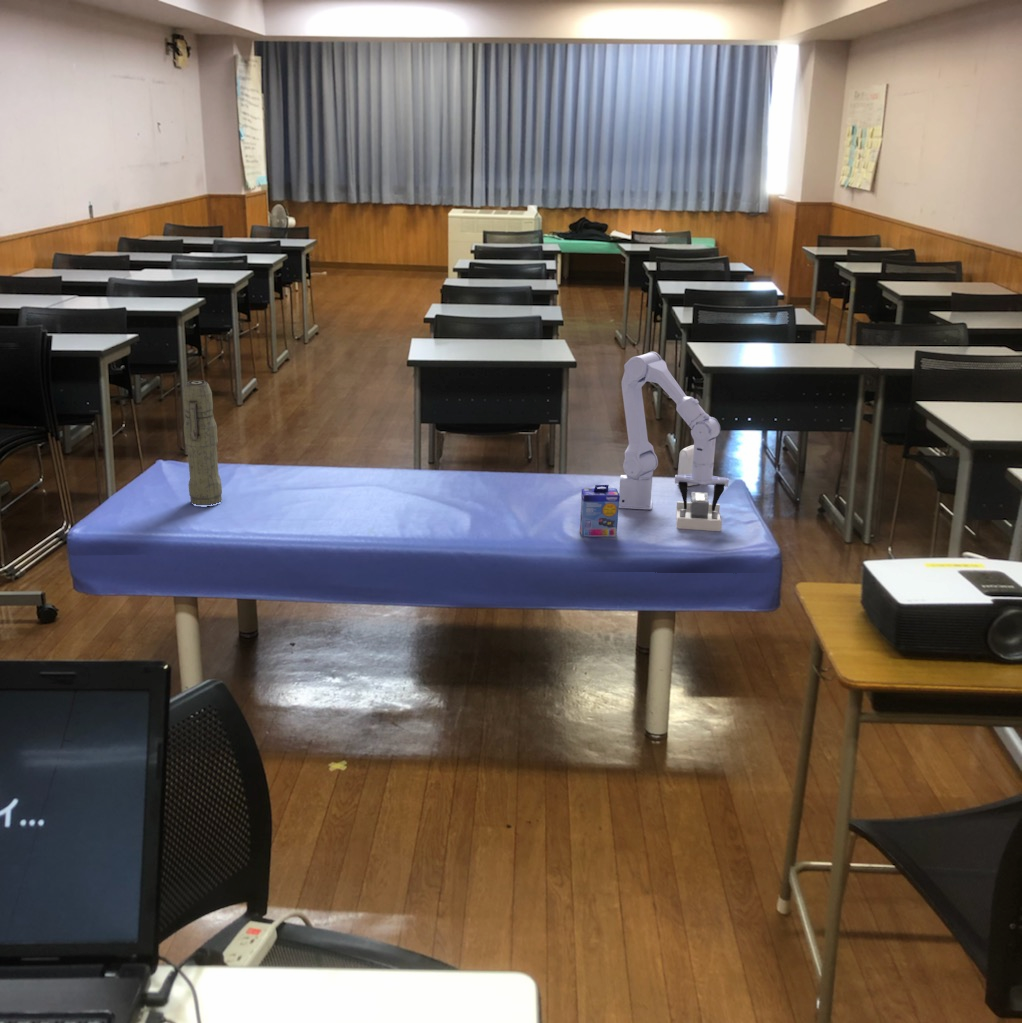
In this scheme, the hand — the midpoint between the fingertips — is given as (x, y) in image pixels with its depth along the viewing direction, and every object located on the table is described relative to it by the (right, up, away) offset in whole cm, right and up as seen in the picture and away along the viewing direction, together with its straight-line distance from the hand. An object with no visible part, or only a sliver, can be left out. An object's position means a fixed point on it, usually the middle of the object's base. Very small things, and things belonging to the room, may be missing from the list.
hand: (699, 508), depth 300 cm
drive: (0, -2, +1) cm, 3 cm away
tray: (0, -3, +1) cm, 4 cm away
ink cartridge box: (-29, -7, -9) cm, 31 cm away
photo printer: (+3, +8, +32) cm, 33 cm away
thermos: (-139, +2, +8) cm, 139 cm away
